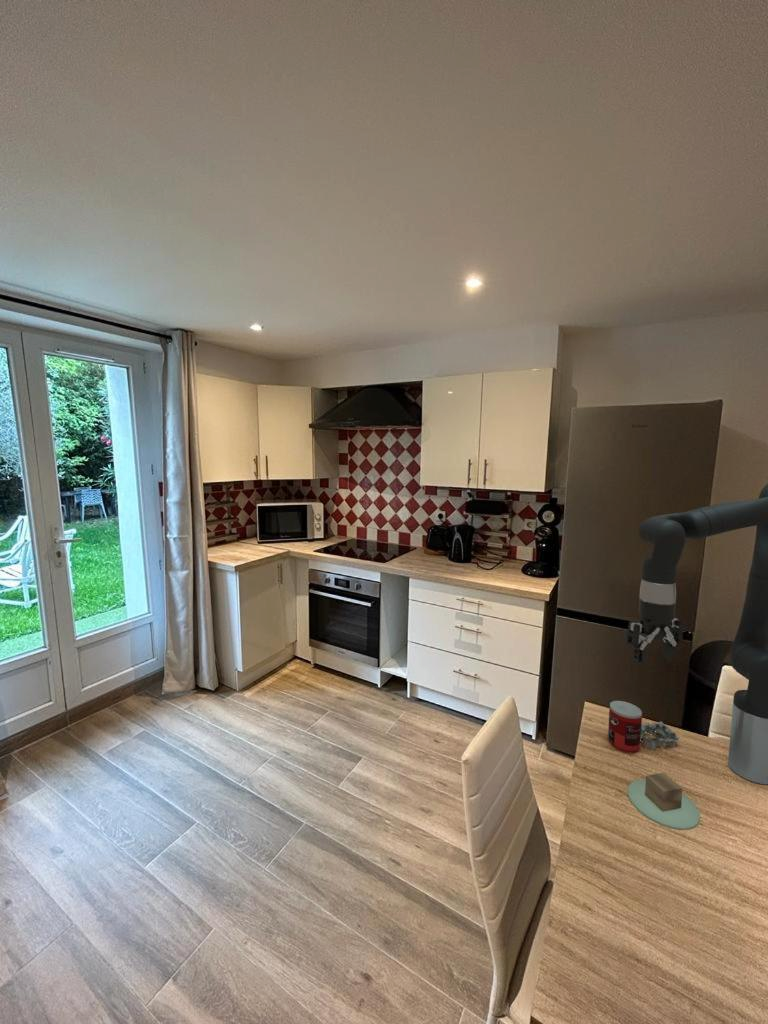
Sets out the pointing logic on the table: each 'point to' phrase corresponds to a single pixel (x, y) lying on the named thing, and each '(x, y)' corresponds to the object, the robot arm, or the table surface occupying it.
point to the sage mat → (673, 818)
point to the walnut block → (663, 791)
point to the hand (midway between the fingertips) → (653, 660)
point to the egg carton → (658, 735)
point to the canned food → (624, 726)
